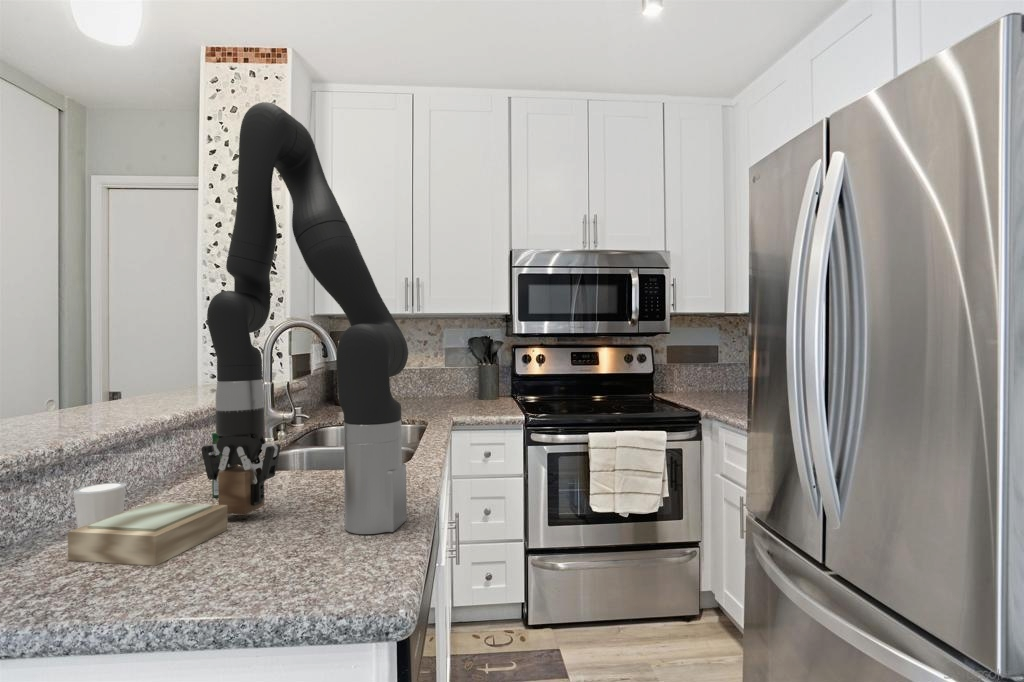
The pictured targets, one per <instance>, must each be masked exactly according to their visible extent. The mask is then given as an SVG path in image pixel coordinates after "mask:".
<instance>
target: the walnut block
mask: <svg viewBox="0 0 1024 682" xmlns="http://www.w3.org/2000/svg"><path fill="white" fill-rule="evenodd" d="M256 473H257V469H256ZM251 484H252V483H251V481H250V472H249V471H247V472H245V470H244V467H243V466H241V465H238V466H237V467H235V468H232V469H229V470H226V471H221V472H218V489H219V497H218V505H227V515H248V514H249V513H251V512H254V511H255V510H257V509H259V508H262V507H264V506H265V498H264V499H263V500H262V502H261V503H260V504H258V505H256V506H252V505H251Z"/></svg>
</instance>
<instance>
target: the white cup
mask: <svg viewBox="0 0 1024 682" xmlns="http://www.w3.org/2000/svg"><path fill="white" fill-rule="evenodd" d="M126 489H127V483H124V482H105V483H104V482H103V483H97V484H91V485H87V486H84V487H83V486H82V487H80V488H77V489H75V490H74V491H73V499H74V500H73V502H74V507H75V508H74V509H75V518H76V526H77V528H80V527H83V526H86V525H88V524H91V523H94V522H97V521H100V520H103V519H105V518H108V517H111V516H114V515H117V514H120V513H122V512H124V508H125V498H126V497H125V496H126Z"/></svg>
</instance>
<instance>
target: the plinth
mask: <svg viewBox="0 0 1024 682" xmlns="http://www.w3.org/2000/svg"><path fill="white" fill-rule="evenodd" d="M226 531H228V514H227V505H219V504H209V503H207V504H206V503H205V504H204V503H184V502H183V503H180V502H163V501H162V502H160V501H152V502H149V503H145V504H143V505H140V506H137V507H133V508H132V509H128V510H126V511H123V512H122V513H120V514H117V515H114V516H111V517H108V518H105V519H103V520H100V521H97V522H94V523H91V524H88V525H86V526H83V527H80V528H78V527H77V528H75V529H71V530H69V531H67V561H74V562H75V561H76V562H89V563H90V562H91V563H106V564H108V563H109V564H118V565H119V564H121V565H122V564H123V565H138V566H152V567H153V566H154V567H155V566H158V565H160V564H162V563H164V562H166V561H168V560H170V559H172V558H174V557H175V556H176V557H177V556H178V555H180V554H182V553H184V552H186V551H188V550H190V549H192V548H194V547H196V546H198V545H200V544H202V543H205V542H206V541H208V540H210V539H212V538H214V537H216V536H218V535H220V534H222V533H224V532H226Z"/></svg>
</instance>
